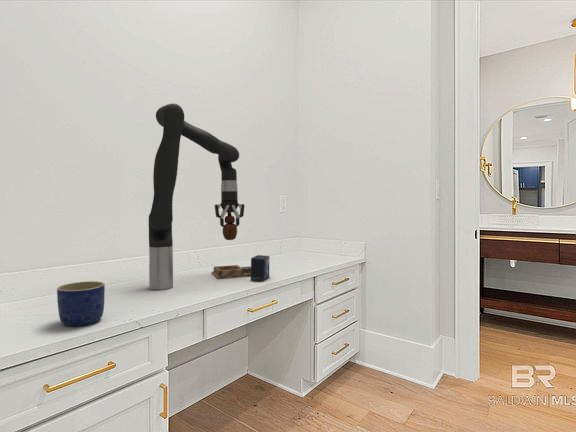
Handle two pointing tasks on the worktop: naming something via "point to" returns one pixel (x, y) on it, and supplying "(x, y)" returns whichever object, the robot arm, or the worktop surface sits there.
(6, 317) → the worktop surface
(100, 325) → the worktop surface
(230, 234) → the wooden figurine
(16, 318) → the worktop surface
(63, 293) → the planter
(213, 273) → the wooden tray
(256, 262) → the small box
